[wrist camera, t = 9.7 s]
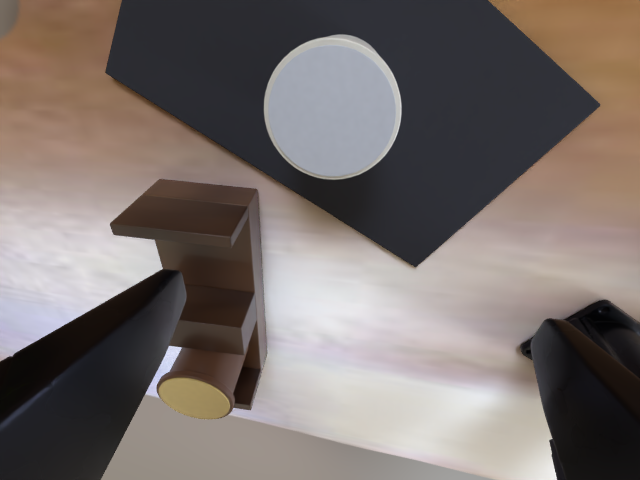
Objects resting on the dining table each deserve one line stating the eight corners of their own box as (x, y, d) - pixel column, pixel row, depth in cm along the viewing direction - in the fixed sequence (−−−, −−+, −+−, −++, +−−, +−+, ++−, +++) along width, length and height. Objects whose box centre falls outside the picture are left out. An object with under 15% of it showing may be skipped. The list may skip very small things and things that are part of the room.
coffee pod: (417, 73, 16) (432, 99, 12) (351, 159, 18) (346, 203, 15) (325, -2, 14) (309, 1, 11) (269, 102, 17) (240, 134, 13)
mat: (596, 102, 16) (601, 105, 16) (415, 263, 22) (415, 267, 22) (191, -271, 11) (186, -279, 11) (109, 71, 18) (104, 72, 17)
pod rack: (257, 188, 20) (230, 237, 16) (267, 353, 30) (251, 410, 26) (159, 178, 21) (108, 223, 17) (198, 344, 30) (172, 399, 26)
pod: (264, 338, 25) (245, 400, 22) (235, 369, 28) (214, 428, 24) (201, 307, 24) (169, 366, 20) (177, 342, 27) (146, 400, 23)
